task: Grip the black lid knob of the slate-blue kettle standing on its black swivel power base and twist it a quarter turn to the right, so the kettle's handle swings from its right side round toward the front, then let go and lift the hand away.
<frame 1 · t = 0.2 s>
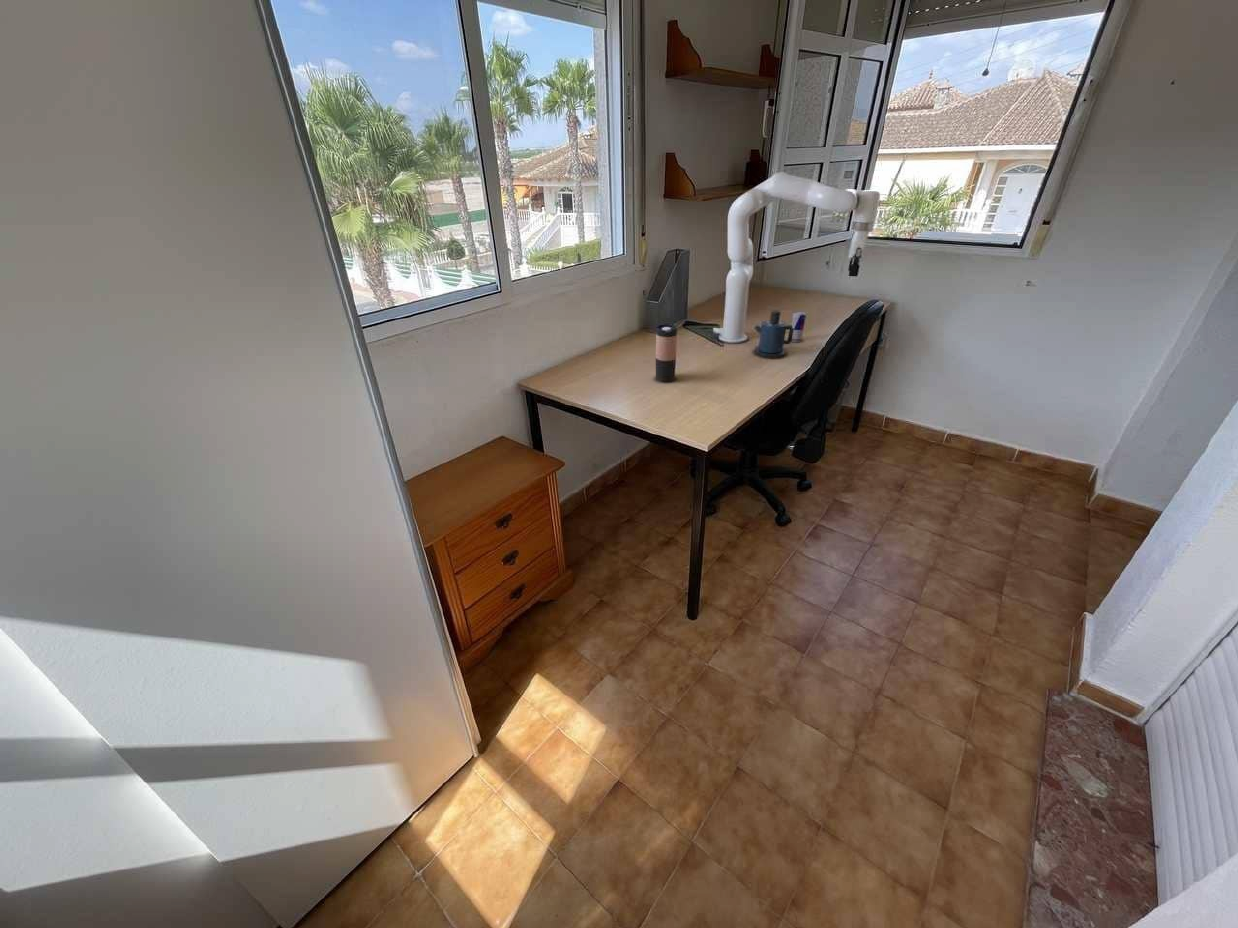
hand: (852, 273, 208), 31 cm above the table, tool pointing down, fingers open, 9 cm apart
energy drink: (795, 340, 234), on the table
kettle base: (769, 353, 221), on the table
kettle: (773, 330, 216), point 10 cm above the table, hinge at 0.0°
travel mug: (665, 379, 199), on the table
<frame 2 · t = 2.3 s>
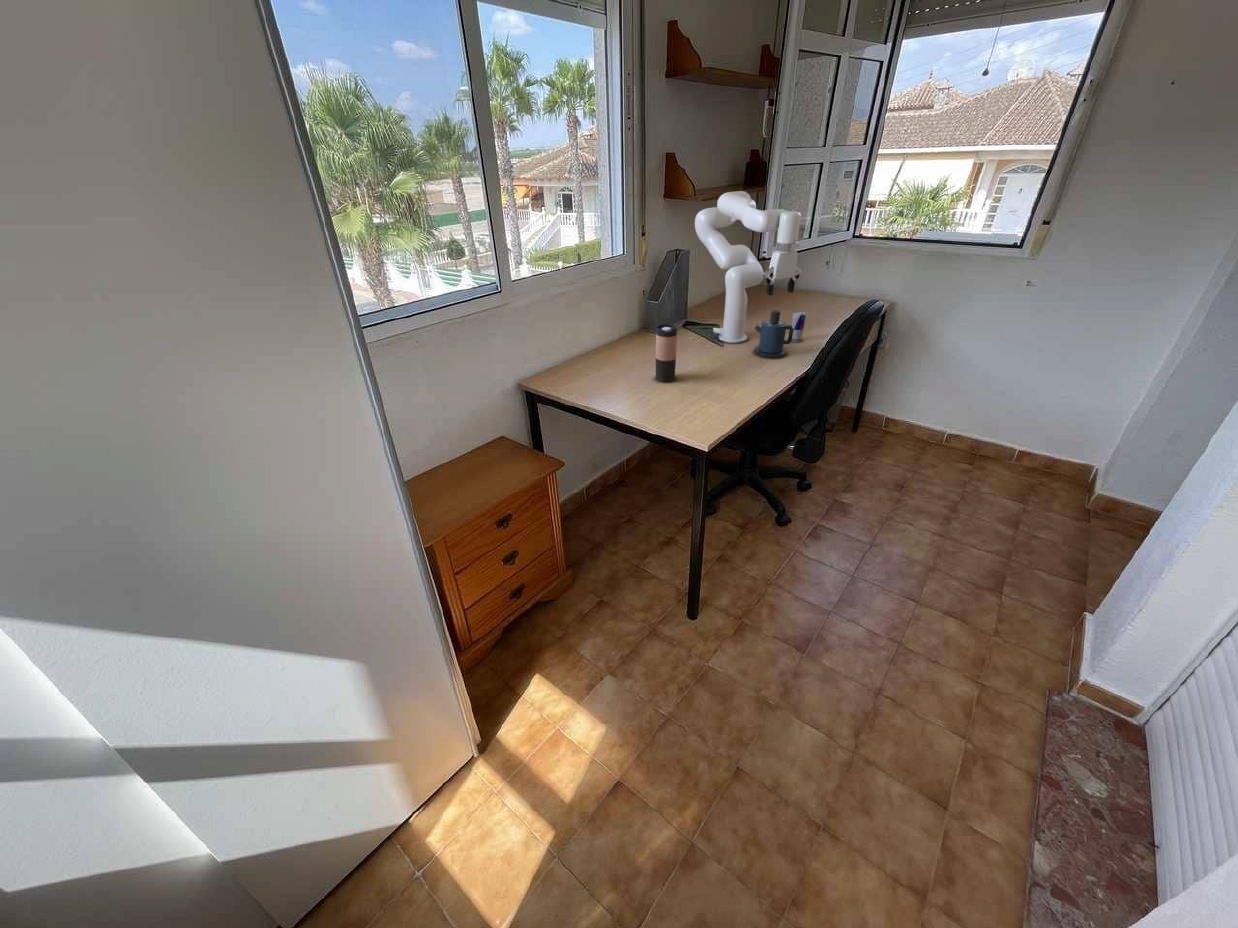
hand: (779, 293, 208), 25 cm above the table, tool pointing down, fingers open, 9 cm apart
nothing on the table moved.
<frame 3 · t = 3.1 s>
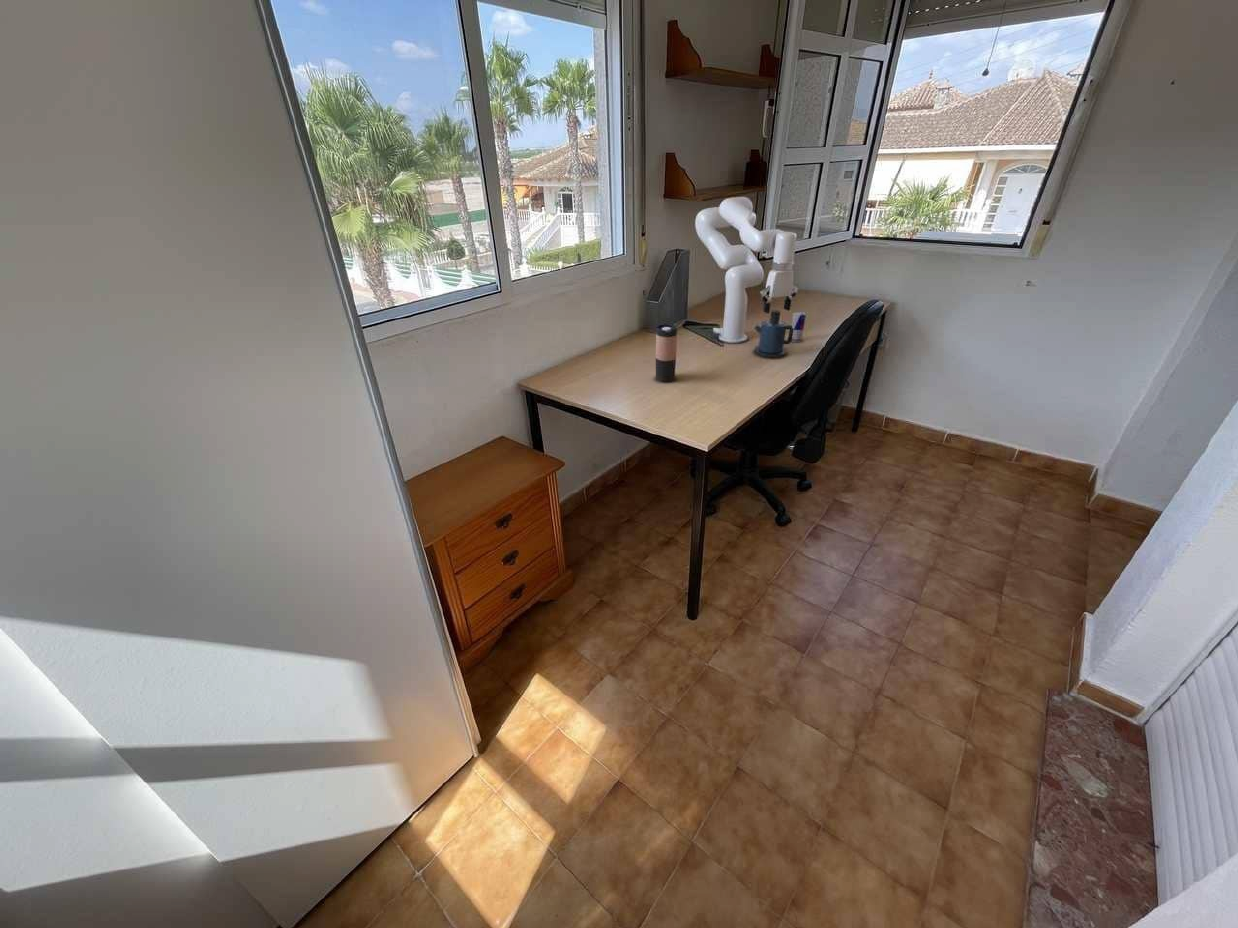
hand: (776, 311, 211), 18 cm above the table, tool pointing down, fingers open, 9 cm apart
nothing on the table moved.
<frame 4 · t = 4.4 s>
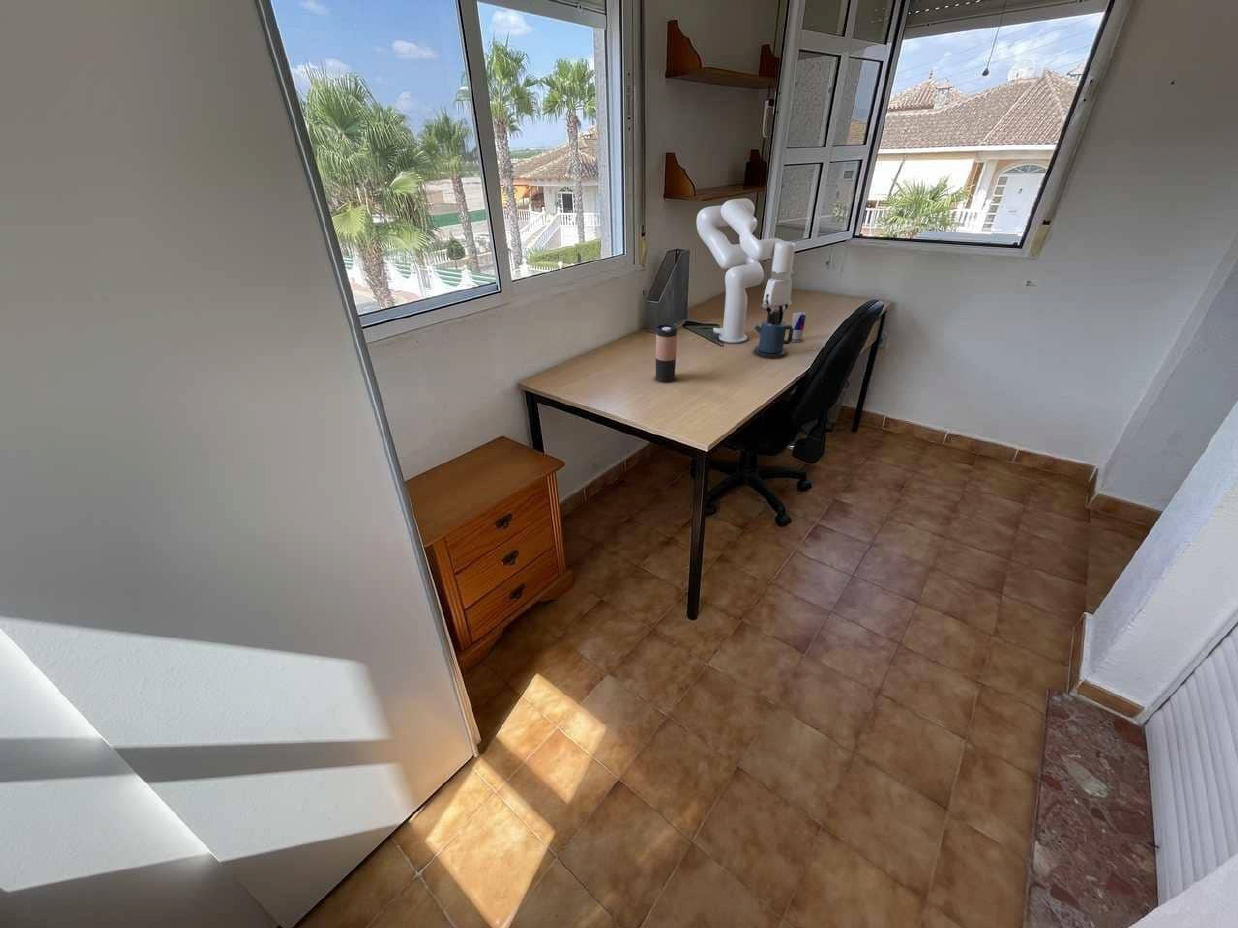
hand: (774, 321, 214), 13 cm above the table, tool pointing down, fingers closed on kettle, 3 cm apart
kettle: (773, 330, 216), point 10 cm above the table, hinge at 0.0°, touching gripper
everything else where it was.
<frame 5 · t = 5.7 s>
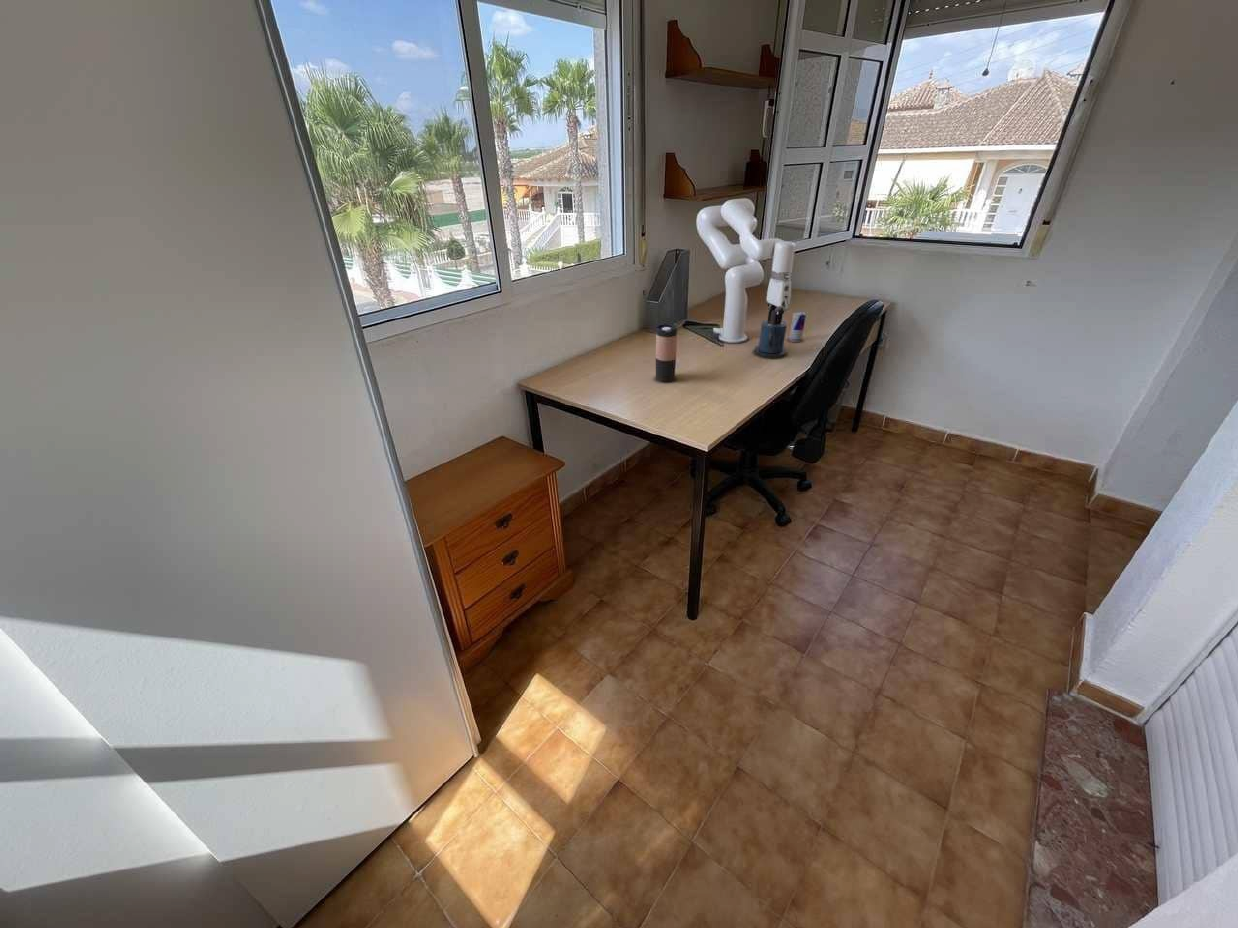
hand: (774, 321, 214), 13 cm above the table, tool pointing down, fingers closed on kettle, 3 cm apart
kettle: (773, 330, 216), point 10 cm above the table, hinge at -90.0°, touching gripper
everything else where it was.
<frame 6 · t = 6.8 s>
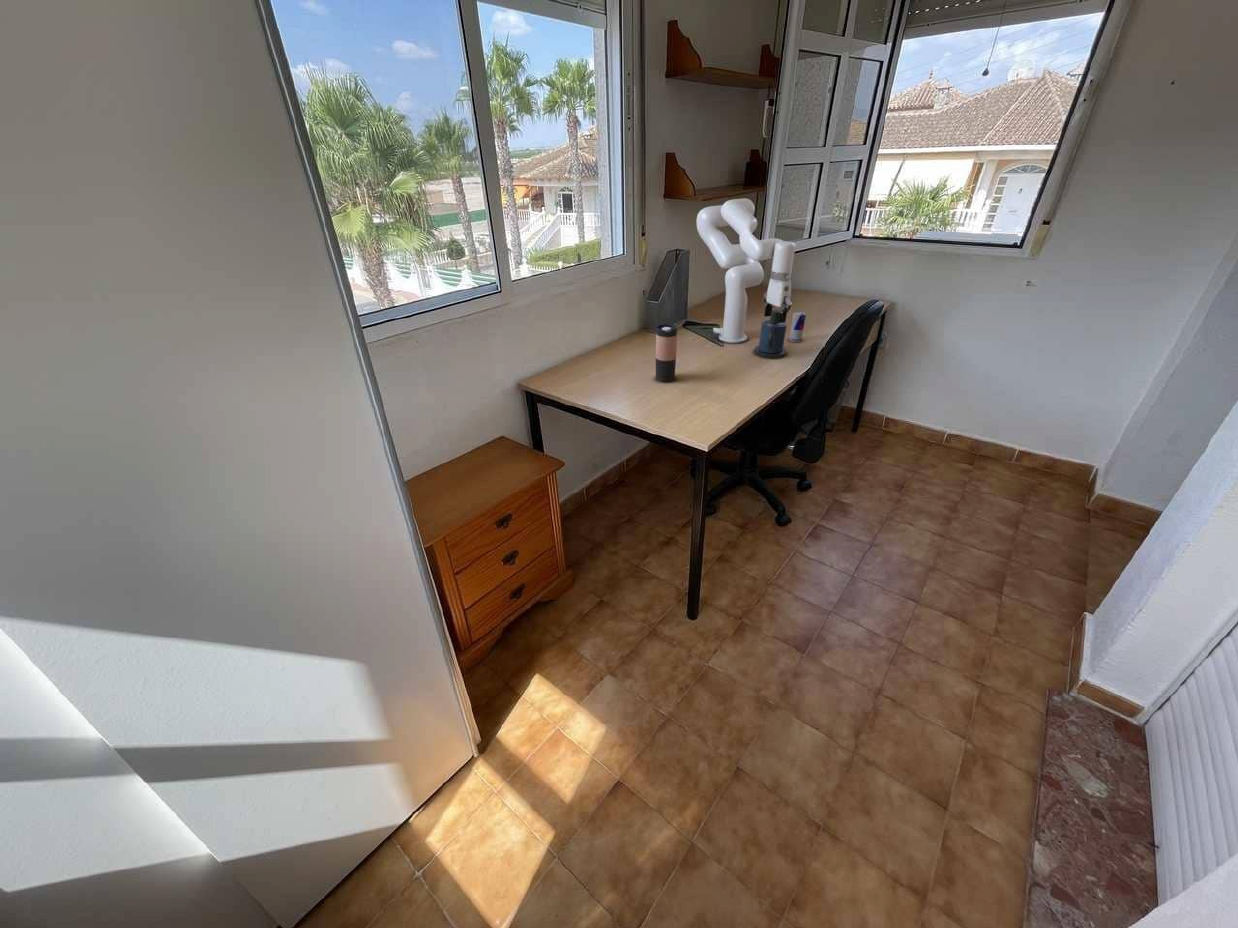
hand: (774, 319, 213), 14 cm above the table, tool pointing down, fingers open, 9 cm apart
kettle: (773, 330, 216), point 10 cm above the table, hinge at -90.3°
everything else where it was.
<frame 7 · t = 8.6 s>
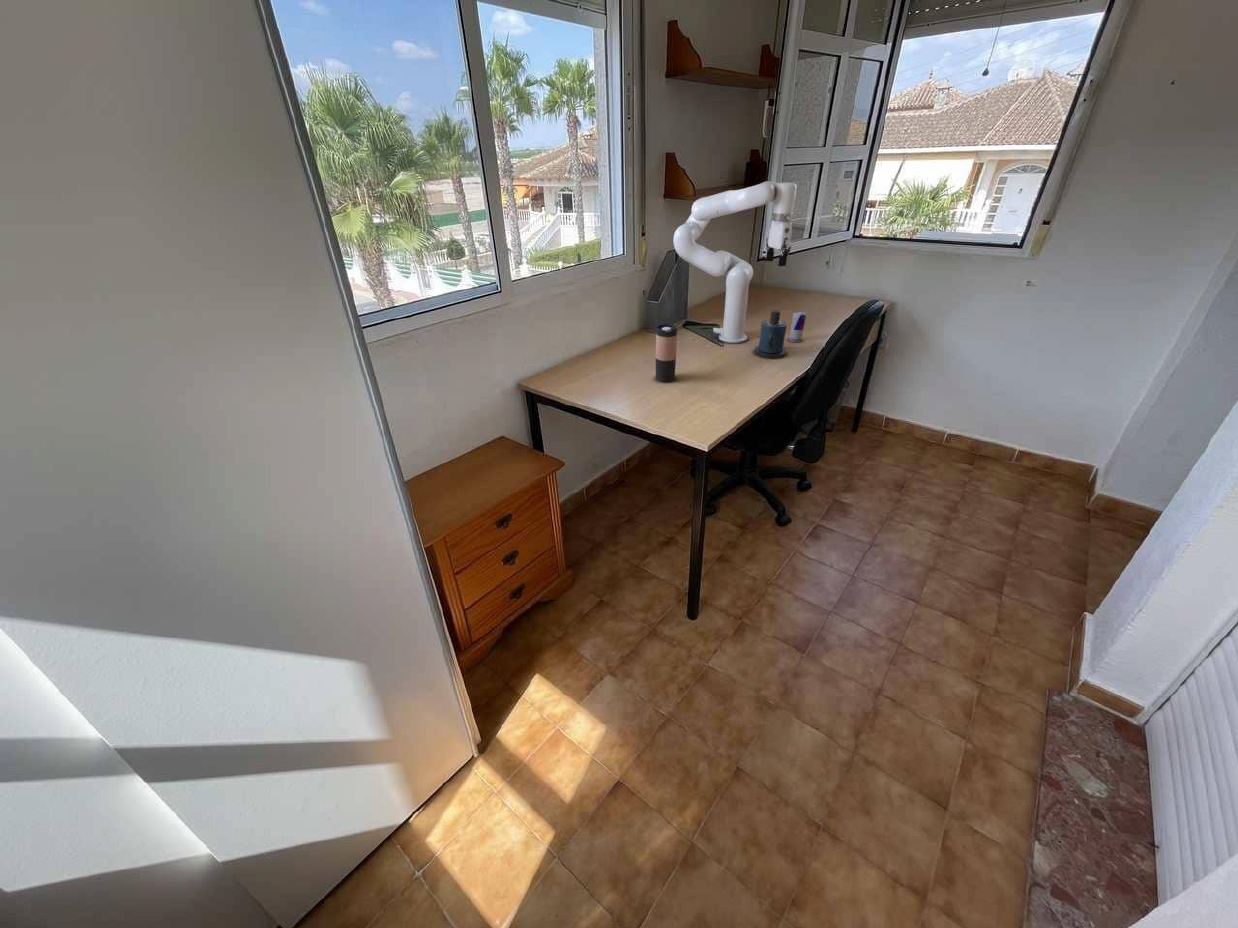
hand: (775, 263, 215), 33 cm above the table, tool pointing down, fingers open, 9 cm apart
nothing on the table moved.
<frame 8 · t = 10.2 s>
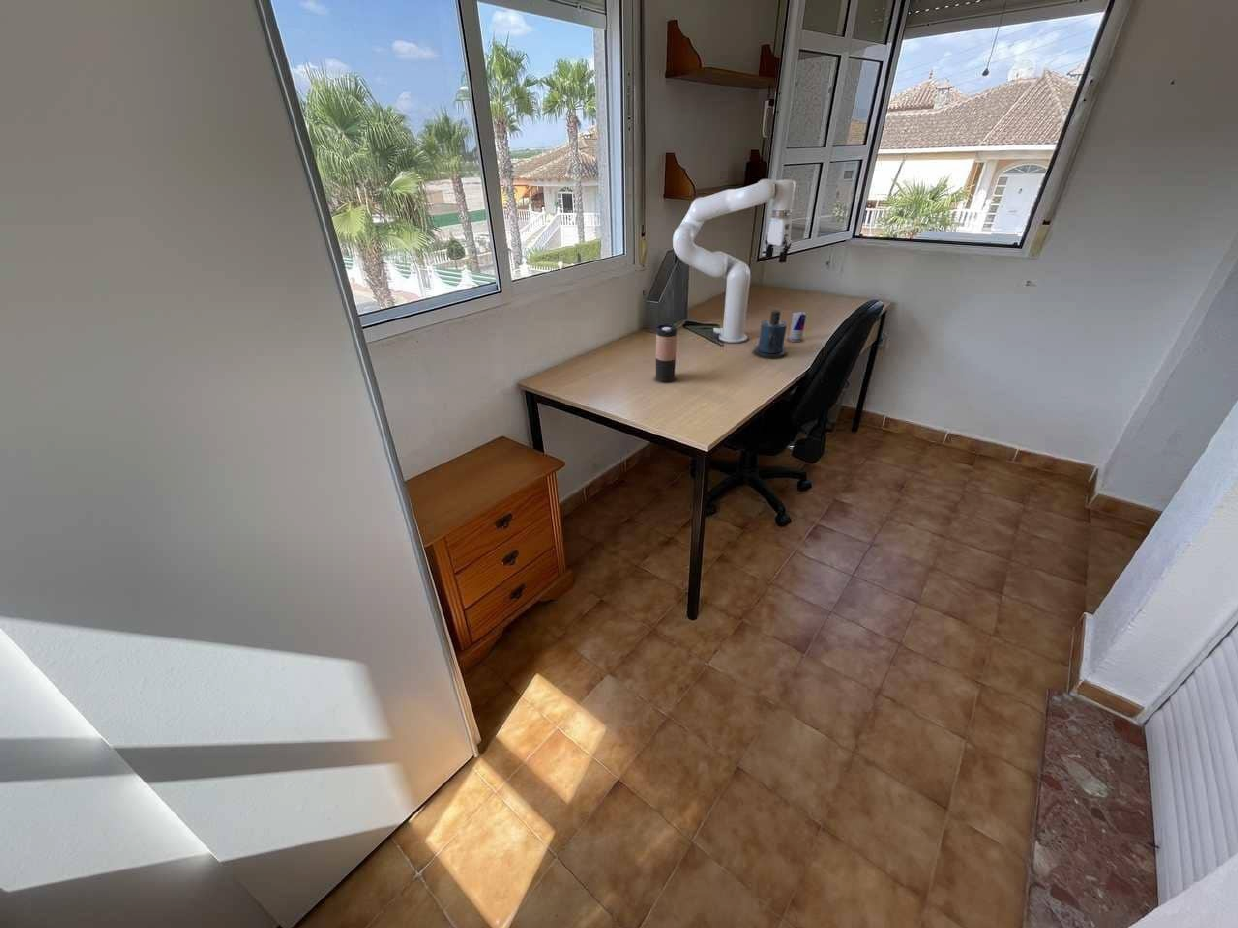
hand: (775, 260, 217), 34 cm above the table, tool pointing down, fingers open, 9 cm apart
nothing on the table moved.
at the end: kettle at -90° (first picture: +0°); energy drink moved 0.2 cm from its start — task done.
